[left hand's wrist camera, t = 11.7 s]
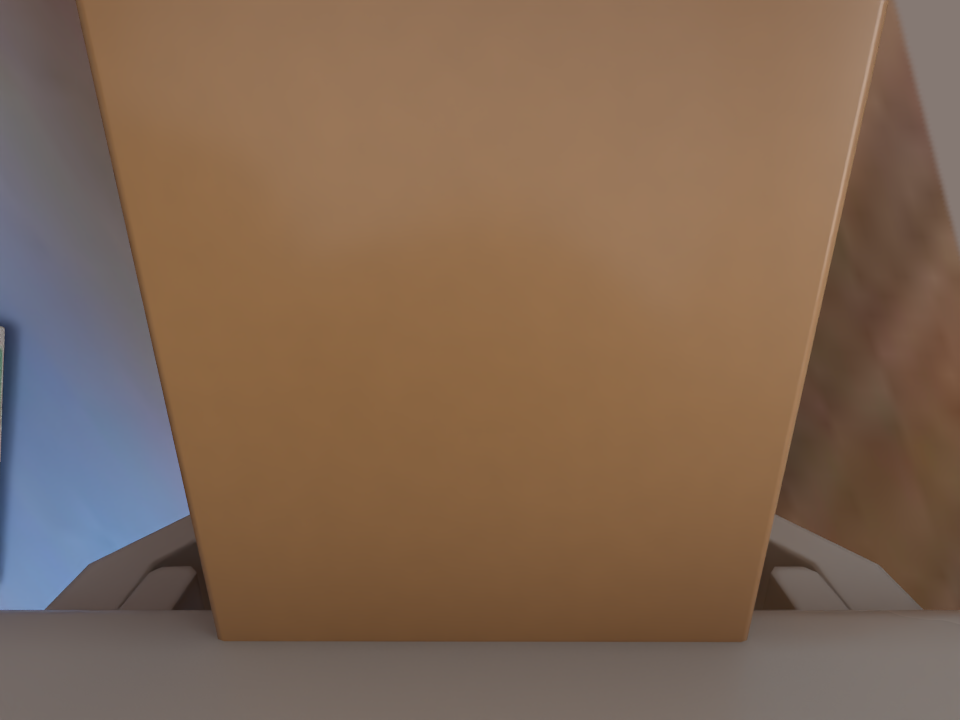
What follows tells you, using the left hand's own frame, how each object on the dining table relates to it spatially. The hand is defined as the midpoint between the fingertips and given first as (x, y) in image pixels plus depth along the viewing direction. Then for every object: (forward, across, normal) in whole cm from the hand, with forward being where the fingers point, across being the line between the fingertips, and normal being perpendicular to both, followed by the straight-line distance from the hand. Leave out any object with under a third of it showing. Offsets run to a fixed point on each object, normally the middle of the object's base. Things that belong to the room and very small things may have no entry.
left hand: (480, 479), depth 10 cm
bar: (+3, 0, -8) cm, 9 cm away
